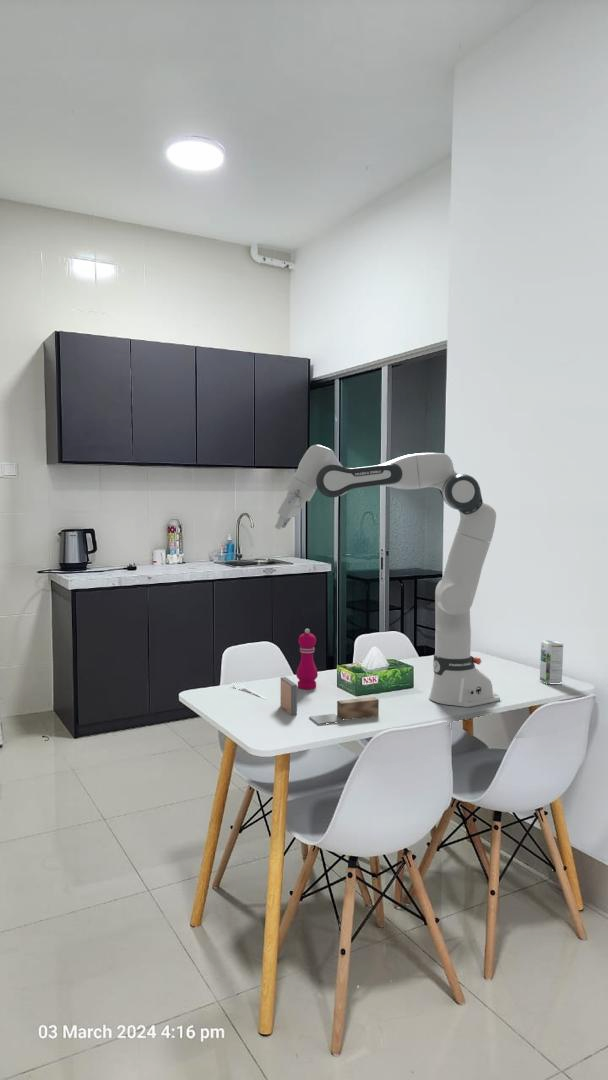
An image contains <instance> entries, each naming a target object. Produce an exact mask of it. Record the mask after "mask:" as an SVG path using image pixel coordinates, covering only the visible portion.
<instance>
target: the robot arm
mask: <svg viewBox="0 0 608 1080" xmlns="http://www.w3.org/2000/svg"><path fill="white" fill-rule="evenodd" d="M369 487H370V488H371V487H389V488H392V489H393V488H394V489H397V490H418V489H425V488H436V489H438V491H439V492H440V495H441V497H442V500H443V501H444V502H445V504H446V505H448V506H449V507H450V508H451V509H453V510H457V511H458V512H459V514H460V515H459V516H460V518H459V523H458V527H457V529H456V532H455V535H454V538H453V542H452V544H451V547H450V549H449V550H450V551H449V553H448V555H447V560H446V564H445V567H444V571H443V575H442V578H441V580H439V581H438V583H437V584H436V586H435V591H434V595H435V596H434V601H435V602H434V609H435V610H434V614H435V617H434V618H435V621H434V622H435V623H434V625H435V633H434V634H435V636H434V637H435V640H434V641H435V642H434V643H435V644H434V649H435V650H434V654H433V663H432V665H433V679H432V686H431V691H430V694H429V697H428V698H429V700H431V701H433V702H435V703H438V704H440V705H441V704H442V705H449V706H459V707H465V708H470V707H475V706H480V705H484V704H485V705H486V704H490V703H494V702H499V700H500V701H501V697H500V696H499V695H498V694H497V693H495V692H494V691H493V683H492V681H491V679H490V678H489V677H488V676H487V675H485V674H484V673H483V672H482V671H480V670H479V669H478V668H477V667H476V665H481V663H482V659H481V657H478V656H475V657H474V656H472V655H471V643H472V642H471V641H472V639H471V637H472V635H471V634H472V629H471V628H472V627H471V611H470V610H471V607H472V606H473V603H474V599H475V596H476V593H477V589H478V586H479V583H480V578H481V573H482V569H483V566H484V563H485V561H486V558H487V554H488V552H489V548H490V545H491V542H492V540H493V536H494V531H495V527H496V522H497V512H496V510H495V509H494V508H493V507H492V506H490V505H489V504H487V503H485V502H484V501H483V497H482V492H481V488H480V487H481V486H480V484H479V482H478V481H477V480H476V479H475V478H474V477H473V476H471V475H469V474H466V473H465V474H464V473H458V472H456V471H455V469H454V463H453V460H452V459H451V457H450V456H449V455H448V454H446V453H443V452H442V453H441V452H420V453H412V454H406V455H403V456H399V457H396V458H394V459H393V458H392V459H391V460H388V461H386V462H383V463H381V464H377V465H369V466H361V467H360V466H359V467H353V468H352V467H344V466H343V465H342V463H341V462H340V461H339V460H338V458H337V456H336V454H335V451H334V450H333V449H331V448H329V447H326V446H323V445H321V444H313V445H311V446H310V447H308V449H307V450H306V451H305V453H304V454H303V456H302V458H301V459H300V462H299V463H298V467H297V470H296V471H295V472H294V473H293V474H292V476H291V478H290V479H289V482H288V484H287V485H286V487H285V489H286V490H287V491H288V492H287V493H286V497H285V498H284V500H283V502H282V504H281V505H280V507H279V509H278V511H277V514H278V515H279V516H278V520H277V522H276V524H275V526H274V528H275V529H277V530H281V528H282V529H284V528H286V527H287V526H288V524H289V522H290V521H291V519H293V518H294V517H296V516H297V515H298V514H299V513H300V511H301V510H302V509H303V507H304V506H305V505H306V502H310V501H311V500H312V498H313V496H314V494H315V493H316V491H317V490H318V491H319V492H320V494H321V495H323V496H325V497H326V498H338V497H341V496H343V495H346V494H347V493H348V492H349V491H351V490H354V489H362V488H369ZM475 664H476V665H475Z"/></svg>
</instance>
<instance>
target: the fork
mask: <svg viewBox="0 0 608 1080" xmlns="http://www.w3.org/2000/svg"><path fill="white" fill-rule="evenodd" d="M231 683H232V687H234V689H235V688H236V689H235V690H238V689H239V687H240V688H242V689H240V690H239V691H244V692H248V693H249V692H250V693H249V694H251V693H253V694H255V695H254V696H256V695H258V696H260V697H259V698H261V697H262V698H261V699H263V698H264V699H263V700H265V699H267V698H266V697H265V696H262V695H261V694H259V693H258V692H255V691H254V690H252V689H249V688H247V687H245V688H244V685H242V684H241V682H240V681H231ZM237 688H238V689H237ZM253 694H252V695H253ZM258 696H257V697H258Z"/></svg>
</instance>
